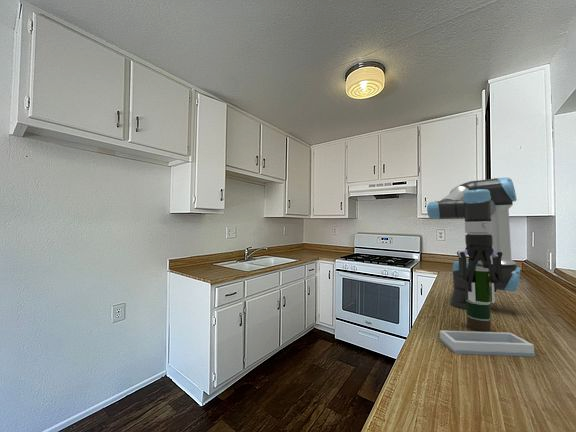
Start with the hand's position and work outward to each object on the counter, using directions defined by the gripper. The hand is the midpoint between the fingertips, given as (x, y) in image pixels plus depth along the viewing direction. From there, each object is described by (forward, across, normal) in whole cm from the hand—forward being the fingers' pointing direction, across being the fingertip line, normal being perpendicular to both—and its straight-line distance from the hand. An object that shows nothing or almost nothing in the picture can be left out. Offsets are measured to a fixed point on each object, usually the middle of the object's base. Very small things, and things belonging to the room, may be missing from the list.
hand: (481, 301), depth 85 cm
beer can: (0, 0, 0) cm, 0 cm away
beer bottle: (+16, +9, +17) cm, 25 cm away
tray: (+16, 0, 0) cm, 16 cm away
